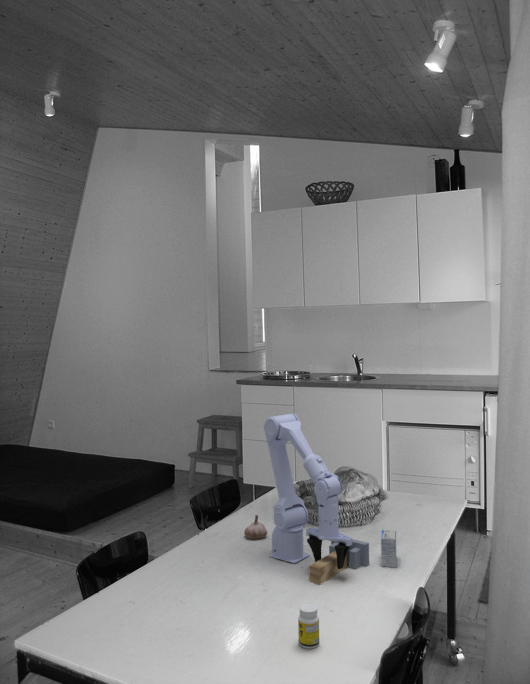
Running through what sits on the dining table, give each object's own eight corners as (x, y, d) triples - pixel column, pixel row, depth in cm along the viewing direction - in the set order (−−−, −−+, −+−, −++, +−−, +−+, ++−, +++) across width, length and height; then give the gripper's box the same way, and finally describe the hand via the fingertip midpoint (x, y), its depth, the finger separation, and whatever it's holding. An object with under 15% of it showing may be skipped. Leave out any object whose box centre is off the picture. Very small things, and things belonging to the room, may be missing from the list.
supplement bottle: (297, 638, 145) (296, 603, 145) (317, 637, 145) (317, 602, 145) (300, 650, 140) (299, 613, 140) (321, 648, 141) (320, 612, 140)
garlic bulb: (271, 536, 213) (270, 513, 212) (259, 543, 207) (259, 519, 206) (252, 532, 217) (252, 509, 216) (240, 539, 211) (240, 515, 210)
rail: (319, 584, 174) (319, 568, 174) (309, 581, 176) (309, 565, 176) (349, 566, 186) (349, 551, 186) (339, 563, 189) (339, 548, 188)
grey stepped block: (325, 560, 190) (324, 539, 190) (334, 555, 195) (334, 534, 194) (359, 570, 183) (359, 548, 183) (369, 564, 187) (368, 542, 187)
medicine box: (396, 568, 184) (396, 539, 184) (381, 567, 185) (380, 538, 185) (396, 557, 192) (396, 529, 192) (381, 556, 193) (381, 529, 193)
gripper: (299, 517, 182) (300, 563, 182) (342, 527, 173) (343, 575, 173) (313, 511, 187) (314, 555, 188) (355, 520, 178) (356, 567, 179)
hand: (329, 564), depth 181 cm, fingers open, 7 cm apart
